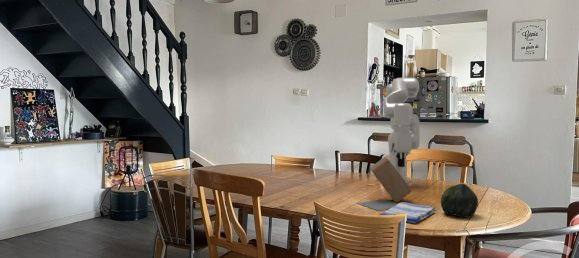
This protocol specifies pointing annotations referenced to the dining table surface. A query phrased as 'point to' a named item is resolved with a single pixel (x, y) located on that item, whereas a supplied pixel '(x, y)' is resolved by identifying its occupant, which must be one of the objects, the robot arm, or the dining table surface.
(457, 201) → the squash
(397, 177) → the wooden block
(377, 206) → the mat
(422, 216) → the dish towel
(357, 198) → the dining table surface
